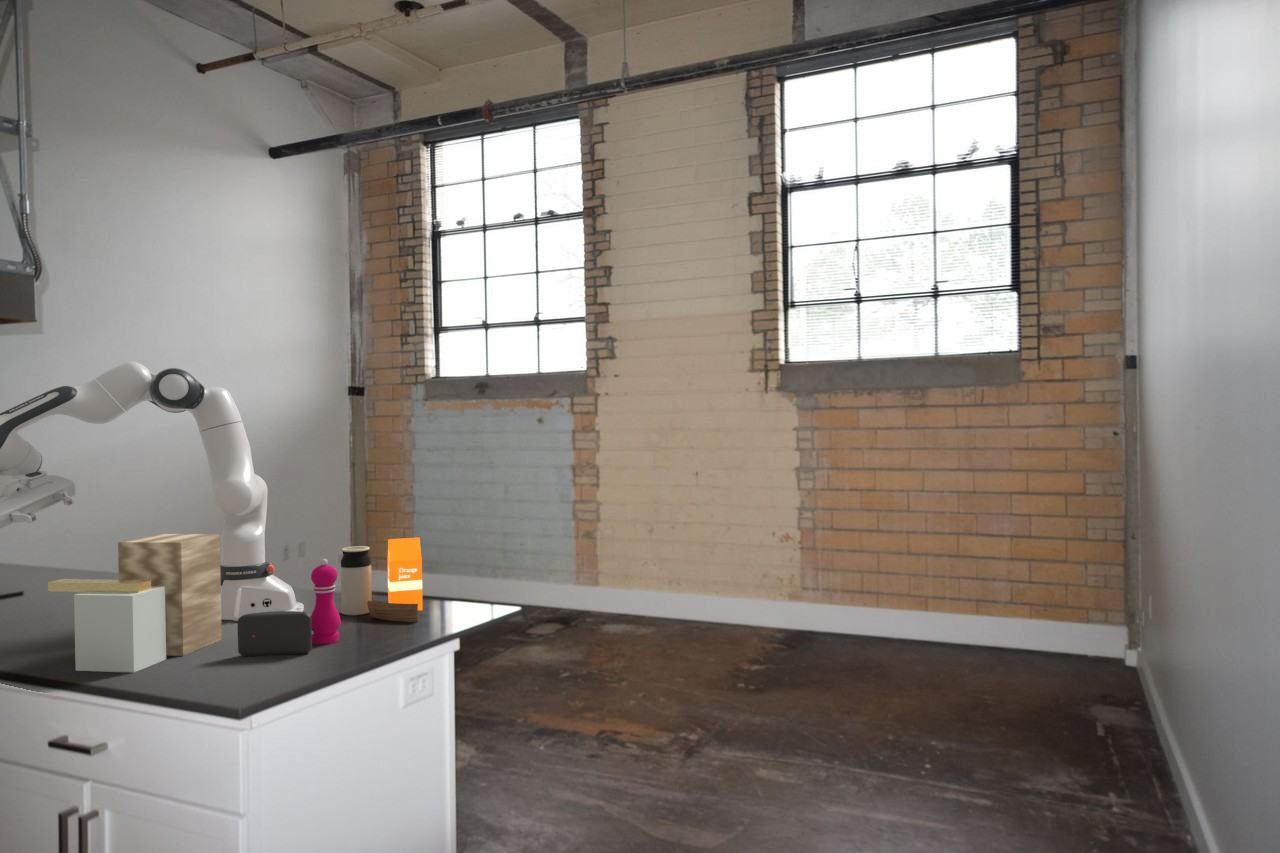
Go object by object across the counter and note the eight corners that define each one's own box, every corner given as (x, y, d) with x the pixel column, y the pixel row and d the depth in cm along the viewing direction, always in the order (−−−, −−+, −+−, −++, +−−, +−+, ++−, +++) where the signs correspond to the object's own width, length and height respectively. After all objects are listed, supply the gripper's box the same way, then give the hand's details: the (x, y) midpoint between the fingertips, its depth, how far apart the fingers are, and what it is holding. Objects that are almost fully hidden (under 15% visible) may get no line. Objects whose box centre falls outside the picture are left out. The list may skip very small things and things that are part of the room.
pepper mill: (307, 646, 202) (306, 562, 202) (311, 638, 209) (309, 557, 209) (340, 643, 204) (338, 560, 204) (342, 636, 211) (340, 555, 211)
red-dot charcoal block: (316, 649, 200) (315, 609, 200) (310, 654, 195) (309, 613, 195) (244, 652, 198) (243, 611, 198) (236, 657, 194) (236, 616, 193)
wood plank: (420, 621, 226) (420, 602, 226) (416, 623, 224) (415, 604, 224) (371, 618, 231) (371, 599, 231) (367, 619, 229) (366, 601, 229)
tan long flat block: (48, 591, 189) (47, 582, 189) (62, 587, 193) (62, 578, 193) (138, 592, 186) (138, 583, 186) (151, 589, 190) (151, 580, 190)
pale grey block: (75, 670, 185) (74, 594, 185) (110, 657, 195) (109, 585, 195) (134, 672, 183) (132, 595, 183) (166, 659, 193) (164, 586, 193)
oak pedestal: (120, 654, 198) (118, 542, 197) (162, 638, 212) (160, 533, 211) (183, 655, 195) (181, 542, 195) (221, 640, 209) (219, 534, 209)
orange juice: (388, 607, 243) (386, 537, 243) (419, 604, 246) (418, 535, 246) (390, 613, 236) (389, 541, 236) (423, 610, 239) (421, 539, 239)
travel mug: (372, 614, 235) (371, 549, 235) (342, 617, 232) (341, 551, 232) (370, 608, 242) (369, 545, 242) (341, 611, 239) (339, 547, 239)
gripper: (-38, 502, 196) (5, 518, 191) (48, 467, 213) (89, 481, 209) (-31, 526, 198) (11, 542, 194) (53, 489, 216) (93, 503, 212)
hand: (52, 510), depth 202 cm, fingers open, 8 cm apart
